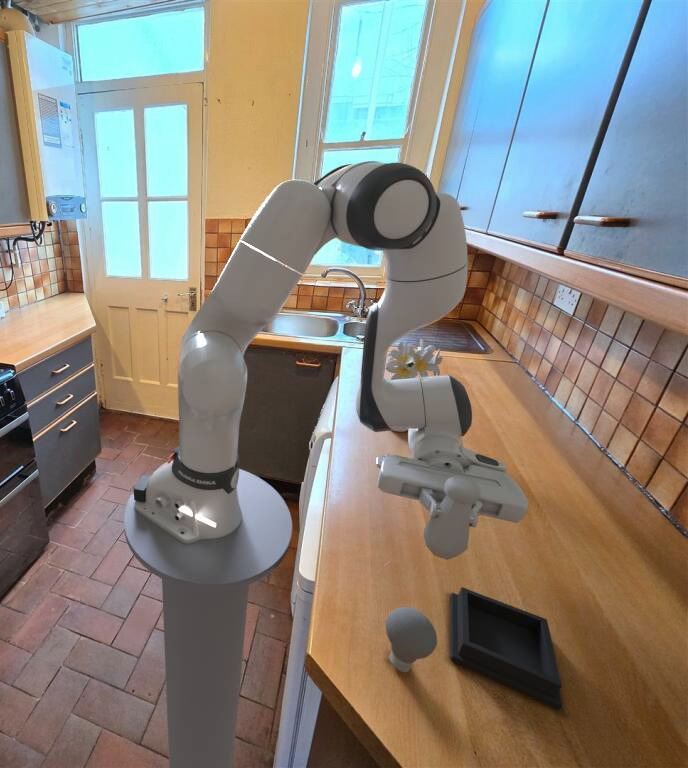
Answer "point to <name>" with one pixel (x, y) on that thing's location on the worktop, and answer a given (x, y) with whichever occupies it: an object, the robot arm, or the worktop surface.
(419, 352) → the flower vase
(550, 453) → the worktop surface
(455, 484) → the salt shaker
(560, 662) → the worktop surface
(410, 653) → the light bulb
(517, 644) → the pad
